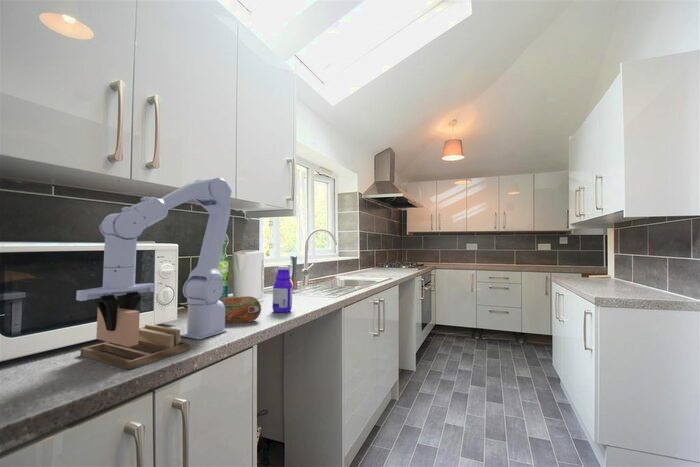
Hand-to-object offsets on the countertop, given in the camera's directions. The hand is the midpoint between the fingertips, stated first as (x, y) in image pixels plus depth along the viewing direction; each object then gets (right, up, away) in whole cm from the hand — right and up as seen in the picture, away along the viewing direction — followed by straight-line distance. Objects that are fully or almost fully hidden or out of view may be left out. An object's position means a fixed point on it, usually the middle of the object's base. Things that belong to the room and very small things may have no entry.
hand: (117, 328), depth 67 cm
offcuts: (+4, -7, +8) cm, 11 cm away
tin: (+14, -8, +33) cm, 37 cm away
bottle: (+25, -9, +50) cm, 56 cm away
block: (0, -3, 0) cm, 3 cm away
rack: (+2, -7, +4) cm, 8 cm away
